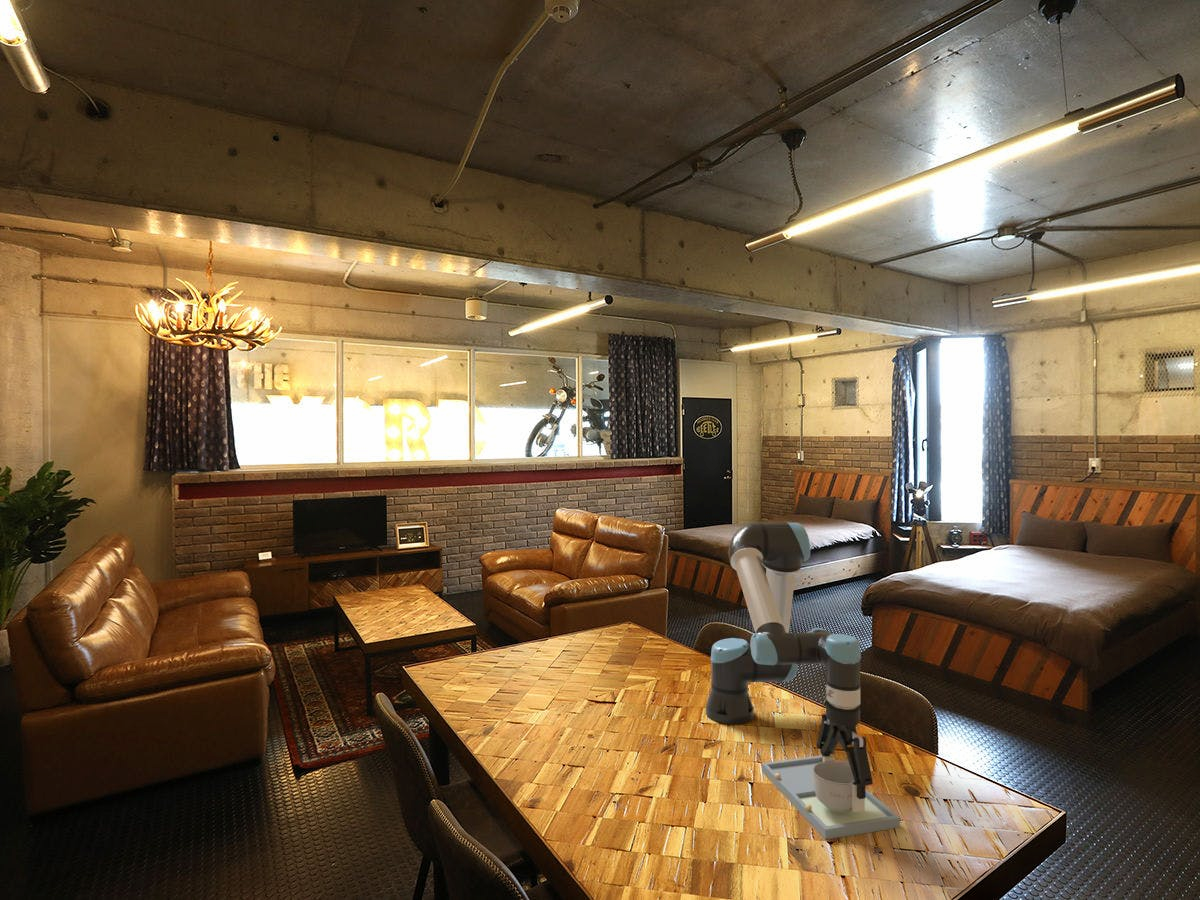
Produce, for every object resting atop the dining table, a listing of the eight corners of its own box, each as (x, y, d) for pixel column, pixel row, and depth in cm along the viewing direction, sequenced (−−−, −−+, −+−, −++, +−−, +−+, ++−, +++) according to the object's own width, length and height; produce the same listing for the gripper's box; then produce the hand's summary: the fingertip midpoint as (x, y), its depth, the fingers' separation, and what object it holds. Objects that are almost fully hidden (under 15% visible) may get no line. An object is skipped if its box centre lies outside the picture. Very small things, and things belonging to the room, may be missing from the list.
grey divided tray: (761, 771, 163) (761, 760, 163) (825, 762, 168) (825, 751, 168) (824, 839, 135) (824, 826, 135) (899, 827, 139) (899, 814, 139)
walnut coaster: (829, 766, 167) (829, 762, 167) (849, 761, 169) (849, 757, 169) (848, 779, 160) (848, 775, 160) (869, 774, 163) (869, 769, 163)
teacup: (831, 821, 138) (831, 786, 138) (803, 795, 148) (803, 762, 148) (884, 812, 141) (884, 777, 141) (853, 787, 152) (853, 754, 152)
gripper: (801, 685, 155) (801, 772, 155) (860, 726, 132) (860, 828, 132) (828, 683, 157) (828, 768, 157) (890, 723, 134) (890, 823, 134)
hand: (842, 796), depth 144 cm, fingers closed on teacup, 11 cm apart
